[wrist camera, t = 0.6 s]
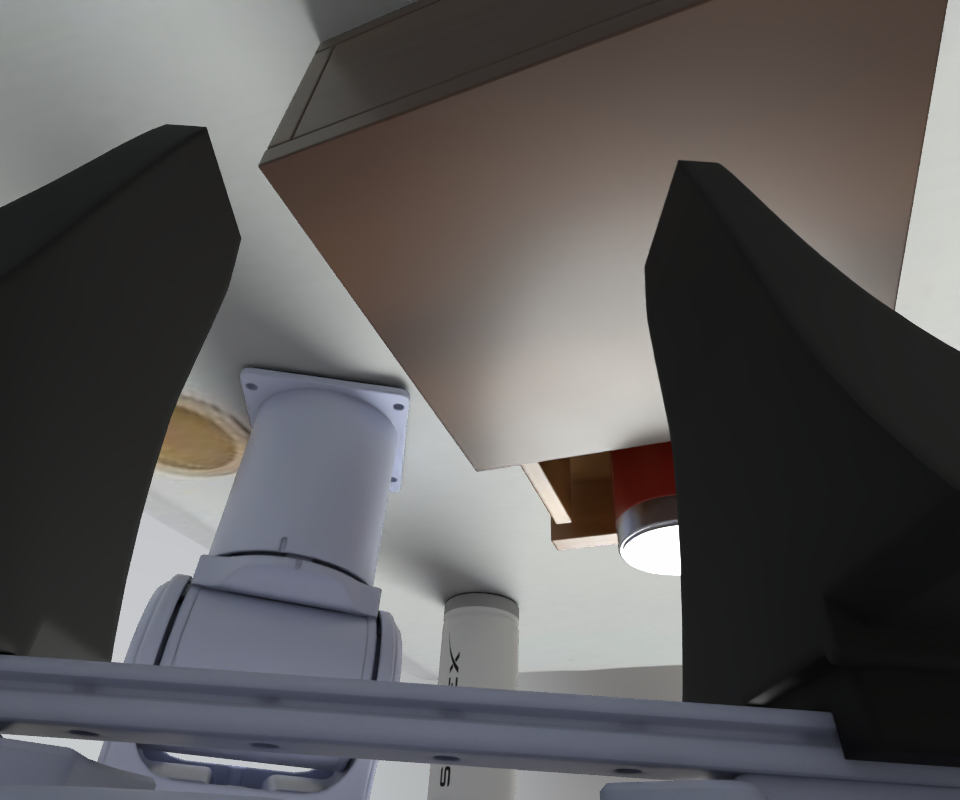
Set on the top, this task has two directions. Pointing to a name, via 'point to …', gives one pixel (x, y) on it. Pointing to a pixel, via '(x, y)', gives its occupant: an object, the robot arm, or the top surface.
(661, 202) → the organiser
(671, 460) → the can
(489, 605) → the travel mug
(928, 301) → the top surface
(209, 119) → the top surface
